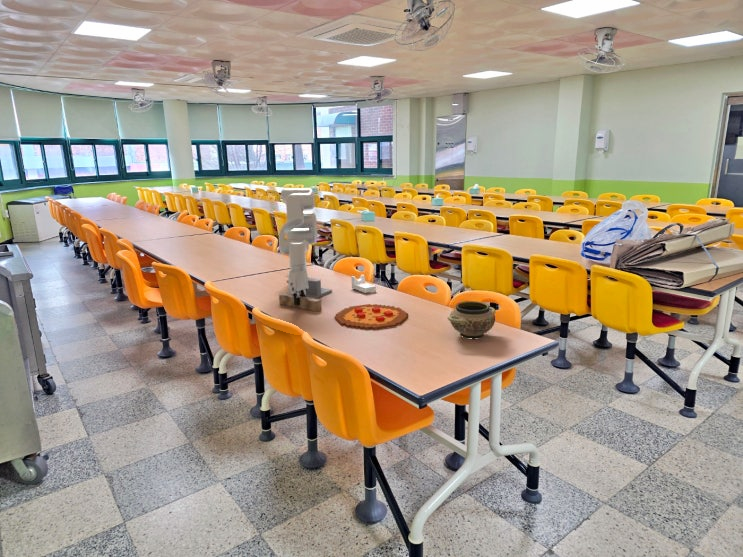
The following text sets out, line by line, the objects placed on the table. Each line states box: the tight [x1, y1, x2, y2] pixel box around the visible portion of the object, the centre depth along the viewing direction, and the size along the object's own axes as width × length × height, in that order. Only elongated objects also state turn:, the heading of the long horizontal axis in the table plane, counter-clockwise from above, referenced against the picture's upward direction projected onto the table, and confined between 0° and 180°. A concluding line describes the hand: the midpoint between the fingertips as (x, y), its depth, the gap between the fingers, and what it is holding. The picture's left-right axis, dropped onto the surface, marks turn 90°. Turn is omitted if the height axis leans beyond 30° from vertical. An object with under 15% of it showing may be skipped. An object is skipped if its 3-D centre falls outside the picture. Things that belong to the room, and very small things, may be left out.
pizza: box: [334, 303, 409, 331], centre depth 221 cm, size 32×32×3 cm
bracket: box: [351, 274, 377, 294], centre depth 265 cm, size 13×7×8 cm, turn 35°
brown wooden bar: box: [278, 292, 322, 312], centre depth 238 cm, size 24×4×5 cm, turn 57°
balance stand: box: [295, 276, 333, 299], centre depth 257 cm, size 14×22×10 cm, turn 148°
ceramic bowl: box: [447, 300, 496, 340], centre depth 195 cm, size 24×18×15 cm
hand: (300, 303), depth 238 cm, fingers closed on brown wooden bar, 3 cm apart
